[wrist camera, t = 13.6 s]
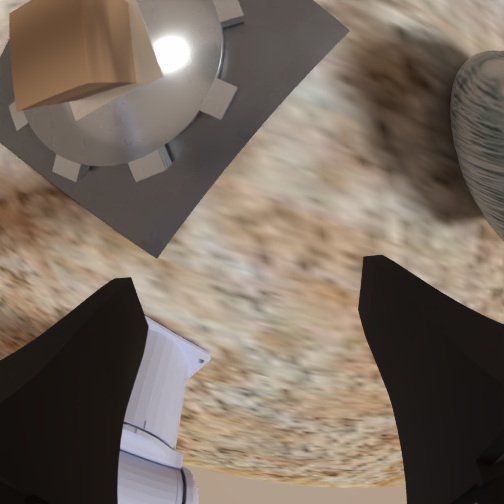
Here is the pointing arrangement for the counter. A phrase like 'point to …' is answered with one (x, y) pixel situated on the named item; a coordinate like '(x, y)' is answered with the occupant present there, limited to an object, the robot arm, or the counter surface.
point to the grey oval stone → (481, 132)
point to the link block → (69, 50)
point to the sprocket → (144, 92)
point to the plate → (201, 129)
